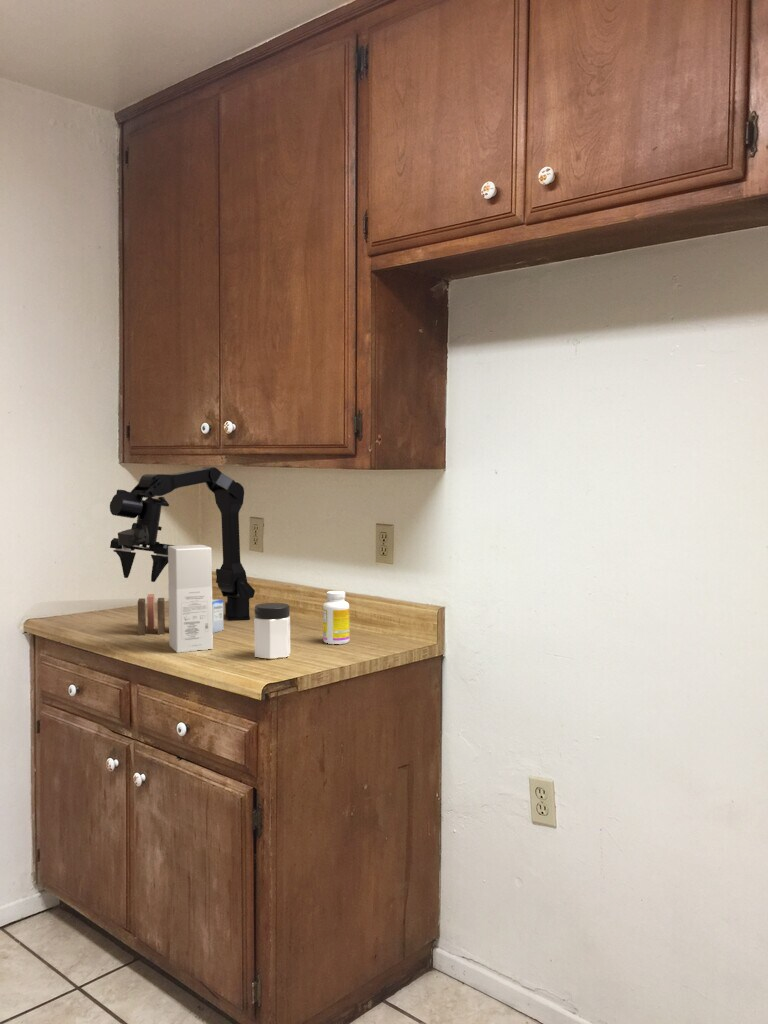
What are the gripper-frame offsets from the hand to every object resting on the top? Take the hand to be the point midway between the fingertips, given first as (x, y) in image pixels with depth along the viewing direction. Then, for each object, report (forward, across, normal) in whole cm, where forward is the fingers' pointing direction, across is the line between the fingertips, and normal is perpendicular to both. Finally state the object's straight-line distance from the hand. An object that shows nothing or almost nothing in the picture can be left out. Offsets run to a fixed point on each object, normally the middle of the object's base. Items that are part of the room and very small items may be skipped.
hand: (139, 579), depth 231 cm
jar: (+13, +46, -2) cm, 47 cm away
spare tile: (+13, -3, +12) cm, 18 cm away
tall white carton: (+15, +23, -4) cm, 27 cm away
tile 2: (+13, +3, +8) cm, 16 cm away
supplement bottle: (+9, +51, +17) cm, 55 cm away
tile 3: (+14, -1, +5) cm, 15 cm away
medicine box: (+12, +13, +15) cm, 23 cm away
